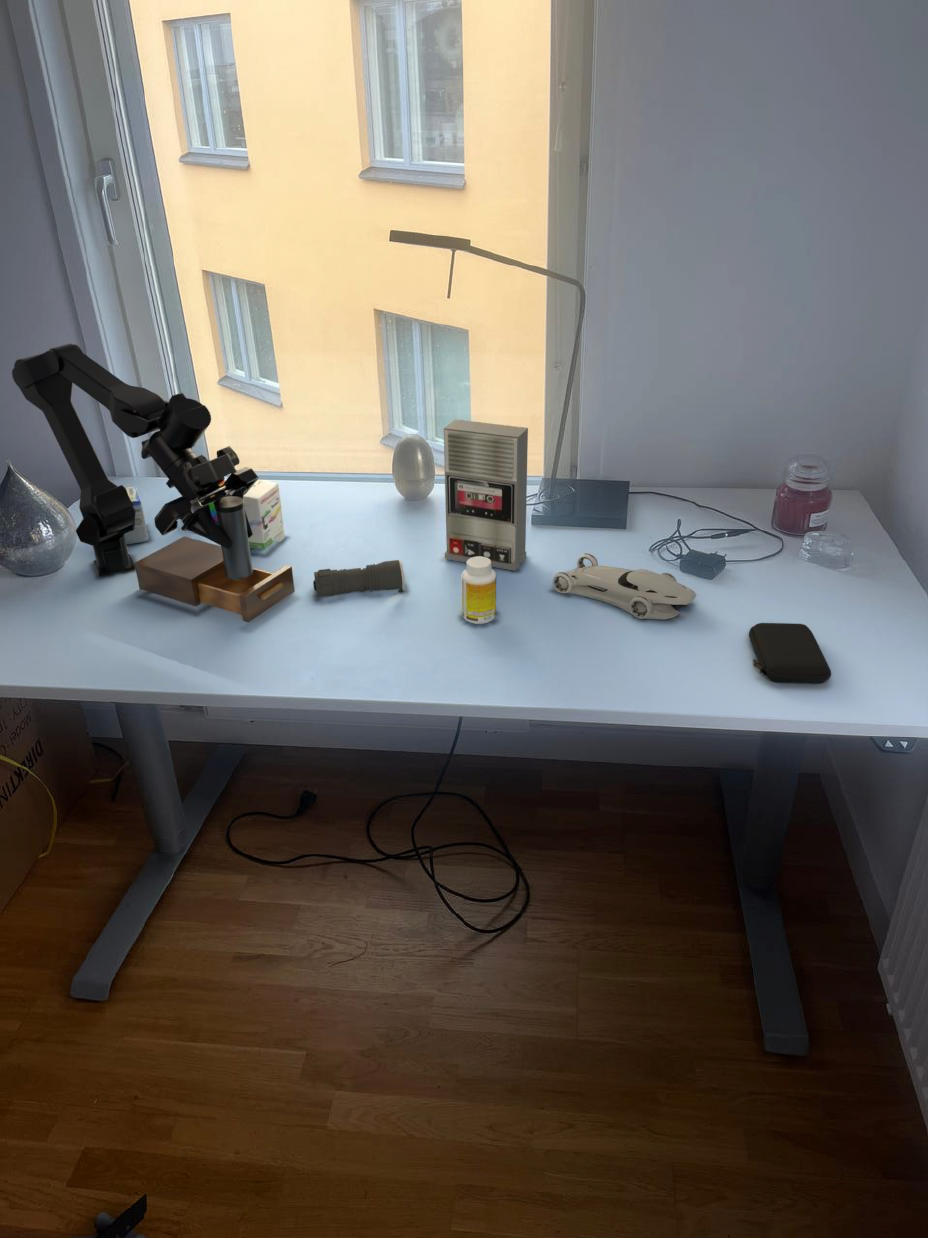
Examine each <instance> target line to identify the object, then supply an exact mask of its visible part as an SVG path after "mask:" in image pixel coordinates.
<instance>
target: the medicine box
mask: <svg viewBox="0 0 928 1238" xmlns="http://www.w3.org/2000/svg"><path fill="white" fill-rule="evenodd" d="M125 488H126V490H127V493H128V496H129V498H130V500H131V501H132V503H133V504H134V508H135V514H136V515H135V527H134V530H133V531H130V532H128V533H126V534H124V536H125V540H126V545H133V544H138V543H145V542H148V541H149V534H148V528H147V525H146V519H145V514H144V507H143V503H142V501H141V498H140V495H139V491H138V488H137V487H136V486H129V487H125Z"/></svg>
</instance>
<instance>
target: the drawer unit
mask: <svg viewBox="0 0 928 1238" xmlns="http://www.w3.org/2000/svg"><path fill="white" fill-rule="evenodd" d="M133 563H134V565H135V569H134V570H135V574H136V578H137V583H138V587H139V590H141V591H145V592H148V593H152V594H154V595H158V596H161V597H164V598H168V599H170V600H173V601H176V602H180V603H183V604H187V605H190V606H192V607H197V606H199V605H200V604H201V602H199V597H198V591H197V586H196V581H197V580H199V579H200V578H202V577H204V576H205V575H207V574H209V573H211V572H212V571H214V570H216V569H217V568H219V567H221V566H222V565H224V561H223V555H222V548H221V545H219V544H216V543H215V544H214V543H211V542H207V541H204V540H199V539H196V538H192V537H188V536H182V537H181V538H179V539H176V540H175V541H172V542H171V543H169V544H167V545H166V546H164V547H161V548H159V549H158V550H156V551H154V552H152V553H150V554H148V555H146V556H144V557H143V558H141V559H139V560H137V561H135V562H133Z"/></svg>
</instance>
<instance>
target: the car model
mask: <svg viewBox="0 0 928 1238" xmlns="http://www.w3.org/2000/svg"><path fill="white" fill-rule="evenodd" d="M584 559H585V560H588V561H590V563H591V565H587V566H586V565H585V564H584V561H585V560H584ZM598 561H599V560H598V559H597V557H596V556H595V555H594V554H592V553H589V552H586V553H583V554H580V556H579V557H578V559H577V562H576V563H577V567H576V568H575V569H572V570H570V571H569V572H567V571H559V572H557V573H555V575H553V577H552V587H553V588H554V590H556V592H558V593H561V594H569V595H575V596H580V597H584V598H589V599H592V600H596V601H599V602H603V603H606V604H609V605H612V606H614V607H617V608H619V609H621V610H623V611H625V612H626V613H628V614H630V615H632V616H634V617H635V618H636V619H640V620H645V619H646V620H647V619H648V620H662V621H667V620H672V619H673V618H675V617H677V616H679V615H680V612H679V611H678V610H677V609H676V607H688V606H689V605H690V603H692V602H694V600H696V597H697V593H696V592H695V590H693V589H691V588H690V587H687V586H686V585H683V584H681V583H679V582H678V581H677V578H676V577H675V576H674V575H673V574H672V573H668V572H663V573H660V574H659V573H657V572H655V571H652V570H648V569H643V568H640V569H634V570H633V569H628V568H624V567H615V566H608V565H599V562H598Z"/></svg>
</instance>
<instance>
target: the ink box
mask: <svg viewBox="0 0 928 1238" xmlns="http://www.w3.org/2000/svg"><path fill="white" fill-rule="evenodd" d="M243 500H244V508H245V512H246V515H247V518H248V521H249V524H250V527H251V530H252V533H253V535H252V536H251V537H250V538H248V539H249V547H250V549H257V550H266V549H267V548H268V547H269V546H270V545H271V544H272V543H273V542H276V543H281V542H283V540H284V539H285V538H286V534H285V527H284V518H283V509H282V502H281V493H280V484H279V482H275V481H269V480H263V479H258V480H257V481H256V482H255V484H254V485H253V486H252V487H251V488H250V489H249V491H248V492H247V493H246V494H245V495H244V496H243Z"/></svg>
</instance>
